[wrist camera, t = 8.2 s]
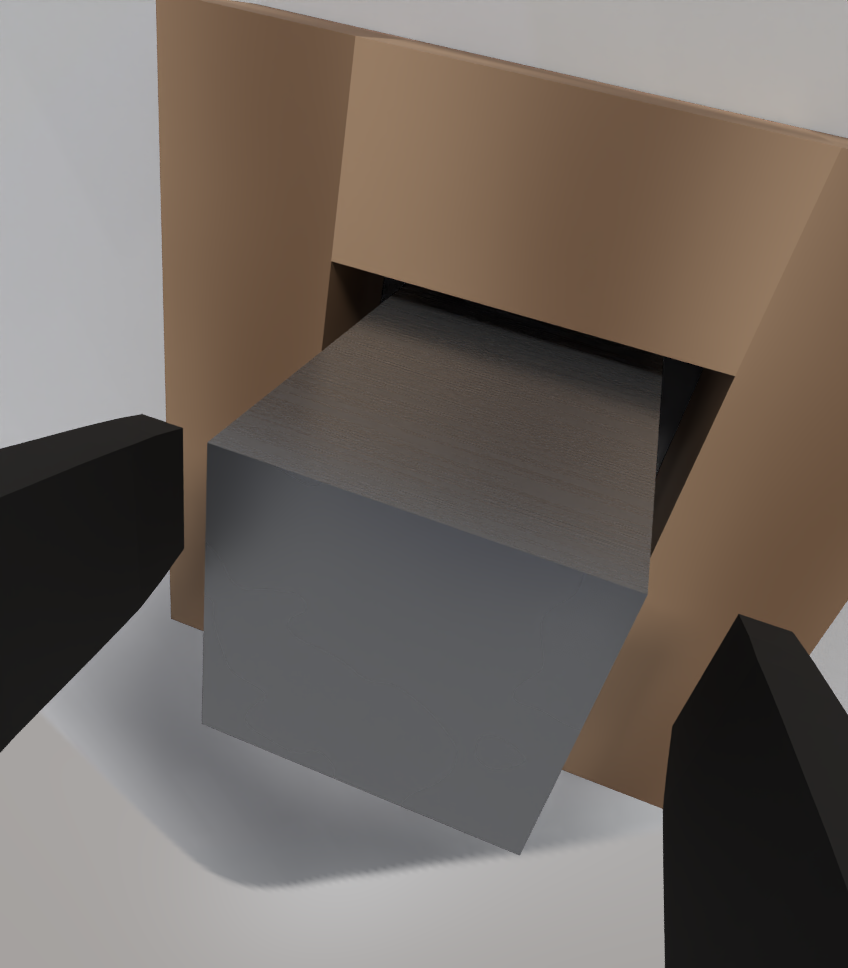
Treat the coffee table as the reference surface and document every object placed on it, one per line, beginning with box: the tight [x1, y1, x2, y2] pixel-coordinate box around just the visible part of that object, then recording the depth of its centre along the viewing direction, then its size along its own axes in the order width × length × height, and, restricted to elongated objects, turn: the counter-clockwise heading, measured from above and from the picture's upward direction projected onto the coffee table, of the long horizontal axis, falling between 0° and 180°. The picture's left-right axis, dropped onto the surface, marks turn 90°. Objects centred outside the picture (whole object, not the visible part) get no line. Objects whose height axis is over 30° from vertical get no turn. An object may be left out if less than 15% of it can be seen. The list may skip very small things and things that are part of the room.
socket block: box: [156, 0, 848, 809], centre depth 12 cm, size 11×11×2 cm
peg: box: [202, 283, 664, 855], centre depth 10 cm, size 4×4×7 cm
